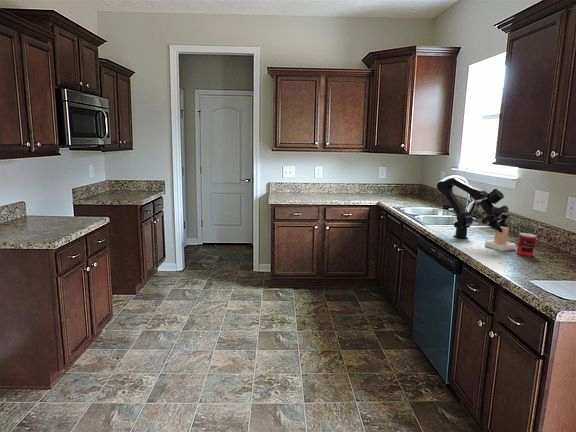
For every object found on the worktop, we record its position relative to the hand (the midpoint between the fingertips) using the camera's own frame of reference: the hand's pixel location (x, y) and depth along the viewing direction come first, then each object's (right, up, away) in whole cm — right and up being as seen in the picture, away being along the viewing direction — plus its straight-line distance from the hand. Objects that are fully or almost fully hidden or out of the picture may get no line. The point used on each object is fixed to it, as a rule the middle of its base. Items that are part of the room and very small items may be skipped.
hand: (504, 231), depth 231 cm
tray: (-1, -9, +3) cm, 9 cm away
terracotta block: (-1, -7, +3) cm, 7 cm away
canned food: (+6, -12, -9) cm, 16 cm away
